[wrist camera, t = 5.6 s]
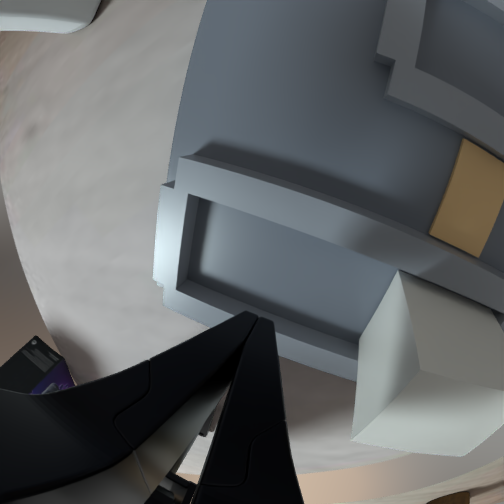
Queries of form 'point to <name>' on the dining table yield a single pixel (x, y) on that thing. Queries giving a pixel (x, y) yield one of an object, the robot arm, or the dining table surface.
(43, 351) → the box
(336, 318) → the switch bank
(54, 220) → the dining table surface
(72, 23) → the eye dropper bottle
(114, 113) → the dining table surface
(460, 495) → the mortar and pestle
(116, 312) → the dining table surface
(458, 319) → the tab
